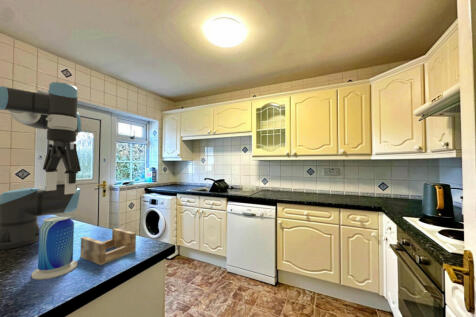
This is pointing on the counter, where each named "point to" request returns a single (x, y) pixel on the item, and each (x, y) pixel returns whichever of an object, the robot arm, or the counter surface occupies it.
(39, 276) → the trivet
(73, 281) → the counter surface
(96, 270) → the counter surface
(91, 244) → the oak holder
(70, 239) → the beer can
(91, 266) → the counter surface
